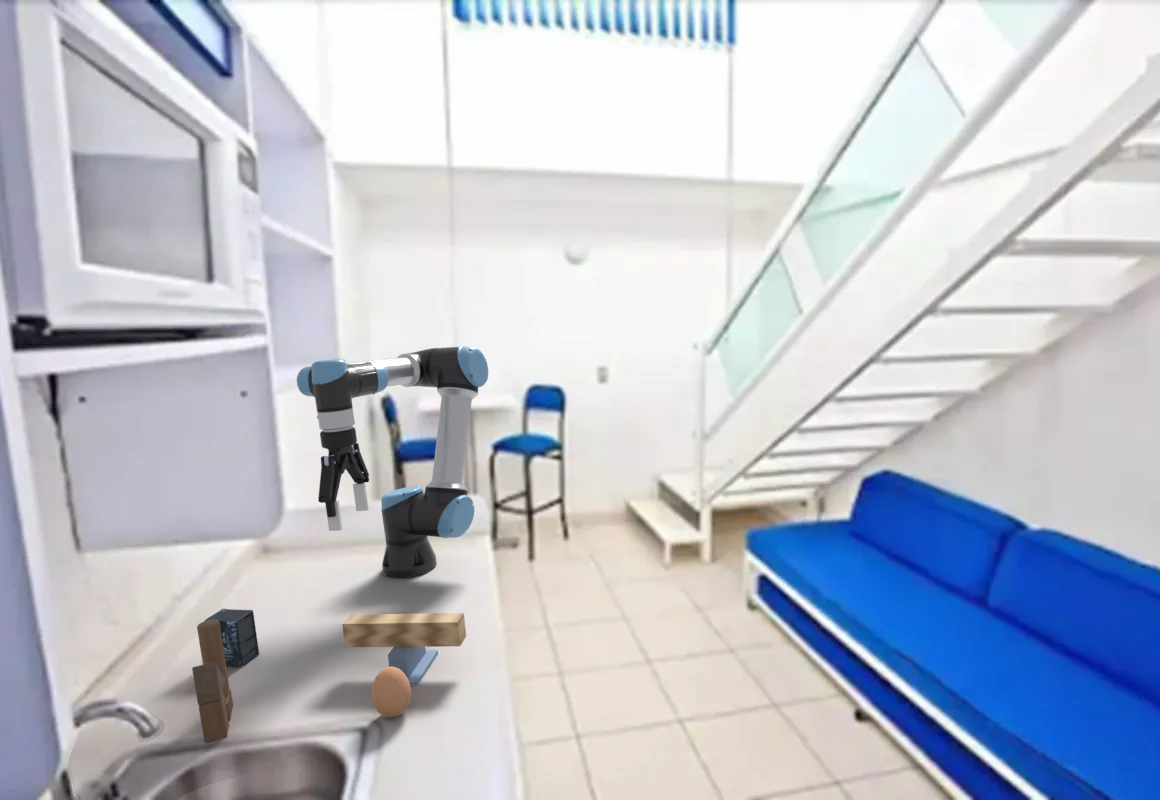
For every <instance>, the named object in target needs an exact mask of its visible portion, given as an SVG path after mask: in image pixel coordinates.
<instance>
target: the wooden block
mask: <svg viewBox="0 0 1160 800" xmlns="http://www.w3.org/2000/svg"><path fill="white" fill-rule="evenodd" d="M196 629H197V635H198V641H199V643H198V644H199V647H200V655H201V661H202V662H201V663H202V664H200V665H197V666H193V667H192V669H191V670H192V676H193V682H194V689H195V694H196V702H197V705H198V711H199V717H200V723H201V729H202V734H203V735H202V736H203V741H204V743H205V742H207V743H210V742H209V741H211V742H213V741H212V740H214V741H217V739H218V740H220V738H222V739H225V738H227V737H228V733H229V730H230V723H229V721H231V718H232V714H233V713H232V712H233V707H234V702H233V695H232V689H231V688H230V685H229V684H230V683H229V682H230V681H229V676H228V671H227V666H226V663H225V656H224V650H223V643H222V637H221V631H220V624H219V621H218V620H217V619H211V620H207V621H205V620H204V621H201V622H199V624H198V625H197V626H196Z"/></svg>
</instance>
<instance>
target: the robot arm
mask: <svg viewBox="0 0 1160 800" xmlns="http://www.w3.org/2000/svg"><path fill="white" fill-rule="evenodd" d="M488 378H489V366H488V362H487V359H486V358H485V355H484V354H483V352H482V351H481V350H480V349H479V348H477V347H475V346H465V345H461V346H452V347H449V346H448V347H447V346H446V347H435V348H434V347H432V348H427V349H423V350H419V351H414V352H407V353H402V354H399V355H398V356H396V357H394V358H384V359H376V360H375V359H374V360H363V361H354V362H347V360H346V359H345V358H331V359H322V360H317V361H314V362H313V363H312V364H311V366H305V367H303V368H302V369H300V370H299V372H298V374H297V376H296V385H297V389H298V391H299V392H300V393H301V394H302V395H304V396H305V397H313V398H314V400H315V406H316V412H317V413H316V414H317V415H316V419H317V420H318V427H319V429H320V430H321V431H320V433H319V436H320V444H321V447H322V448H323V449H325V450H328V454H327V455H322V456H320V464H321V465H320V467H321V469H320V479H319V488H318V489H319V490H318V497H317V498H318V502H319V503H321V504H322V503H325V511H326V517H327V524H328V525H327V526H328V531H329V532H332V531H333V532H335V531H342V530H343V523H342V515H341V508H340V501H339V500H337V497H338V492H339V488H340V483H341V478H342V475H343V474H345V471H347V473H348V475H349V476H350V478H351V479H352V480H353V482H354V483H353V484H352V488H353V496H354V504H355V510H356V512H363V511H364V512H365V511H369V504H368V503H369V501H368V497H367V494H368V493H367V488H366V483H369V482H370V478H369V477H370V474H369V471H368V468H367V466H366V462H365V461H364V458H363V456H362V454H361V450H360V446H359V443H357V442H358V439H357V432H356V431H357V430H356V428H355V427H354V425H355V424H356V422H355V415H354V409H353V407H354V406H353V401H352V399H354V398H359V397H363V396H368V395H375V394H377V393H380V392H382V391H384V390H385V389H387V387H394V386H402V387H405V388H410V387H425V388H436V392H437V393H438V394H439V396H440V397H441V399H440V406H439V407H440V408H439V415H438V416H439V417H438V425H437V433H436V442H435V451H434V460H433V467H432V468H433V469H432V477H431V480H430V482H429V483H428V484H427V485H425V490H424V489H423V487H422V486H420V485H411V486H407V487H402V488H397V489H395V490H392V491H391V490H390V491H389V492H387V493H385V494H384V495H382V497H381V514H382V515H381V516H382V523H383V524H382V525H383V532H384V539H385V545H386V546H385V549H384V554H383V559H382V564H381V567H382V574H383V573H384V574H385V575H384V574H383V575H384V576H385V577H388V576H389V578H393V577H397V578H396V579H402V577H405V578H410V577H411V578H412V577H416V576H419V575H424V574H425V573H427V572H429V571H432V570H433V569H434V568H435V567H436V566H437V563H438V562H437V556H436V553H435V551H434V549H433V546H432V544H431V542H430V540H429V538H428V537H433V538H434V537H435V538H436V537H437V538H442V539H448V538H449V539H450V538H452V539H453V538H454V539H456V538H459V537H461V536H463V535H464V534H466V532H467V531H468V530H469V529H470V527H471V525H472V523H473V521H474V516H475V505H474V500H473V499H472V498H471V497H470V496H469V495H468V491H469V490H468V488H467V487H466V486H465V484H464V475H465V467H466V459H467V450H468V449H467V448H468V439H469V430H470V422H471V421H470V420H471V412H472V411H471V409H472V401H473V399H475V398H476V397H477V396H478V395H479V394H478V393H479V388H482V387H483V386H484V385H485V384H486V383H487V382H488ZM398 577H399V578H398Z"/></svg>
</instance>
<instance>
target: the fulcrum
mask: <svg viewBox="0 0 1160 800" xmlns="http://www.w3.org/2000/svg"><path fill="white" fill-rule="evenodd" d="M438 655H439V651H438V650H437V649H436V650H435V649H434V650H433V649H432V650H431V649H430V650H429V649H428V650H426V647H391V650H390V651H389V652H388V653H387V657H388V658H387V659H388V667H396V668H398V669H400V670H401V671H402V672H403V673H404V674H405V675H406V677H407V678H408V680H409V683H410V687H418V686H419V685H420V683H421V681H422V680H423V678H424V676H425V675H426V673H427V672H428V671H429V668H430V667H431V666H432V664H433V662H434V661H435V660H436V658H437V656H438Z"/></svg>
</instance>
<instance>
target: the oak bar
mask: <svg viewBox="0 0 1160 800" xmlns="http://www.w3.org/2000/svg"><path fill="white" fill-rule="evenodd" d="M465 620H466V619H465V613H464V612H444V613H443V612H442V613H441V612H439V613H437V612H432V613H429V612H428V613H385V614H381V613H378V614H376V613H375V614H373V613H372V614H369V613H368V614H350V616H349V617H347V619H345V621H343V622H342V624H341V626H342V634H343V642H344V648H393V647H425V648H426V647H427V648H428V647H440V648H441V647H461V645H462V644H463V642H464V641H465V639H466V637H467V632H466V631H467V630H466V629H467V628H466V621H465Z"/></svg>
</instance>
